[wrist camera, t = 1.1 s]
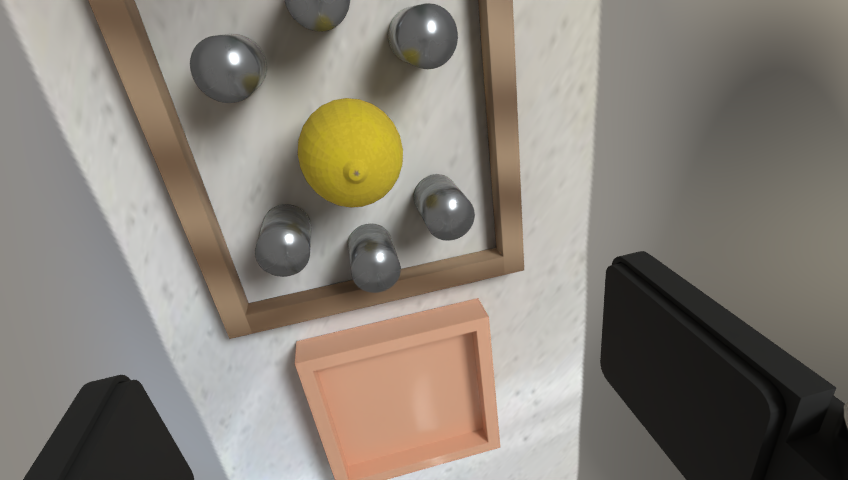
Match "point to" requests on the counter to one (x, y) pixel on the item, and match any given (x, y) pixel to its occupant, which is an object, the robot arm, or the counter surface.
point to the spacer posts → (289, 225)
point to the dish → (403, 392)
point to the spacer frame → (243, 318)
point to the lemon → (350, 152)
